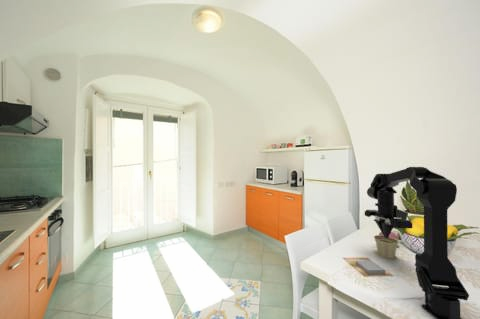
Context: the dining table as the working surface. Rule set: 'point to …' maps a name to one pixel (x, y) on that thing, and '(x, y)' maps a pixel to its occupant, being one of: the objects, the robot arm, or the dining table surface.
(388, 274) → the board
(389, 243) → the flower pot
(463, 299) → the robot arm
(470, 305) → the dining table surface
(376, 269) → the tile
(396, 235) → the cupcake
